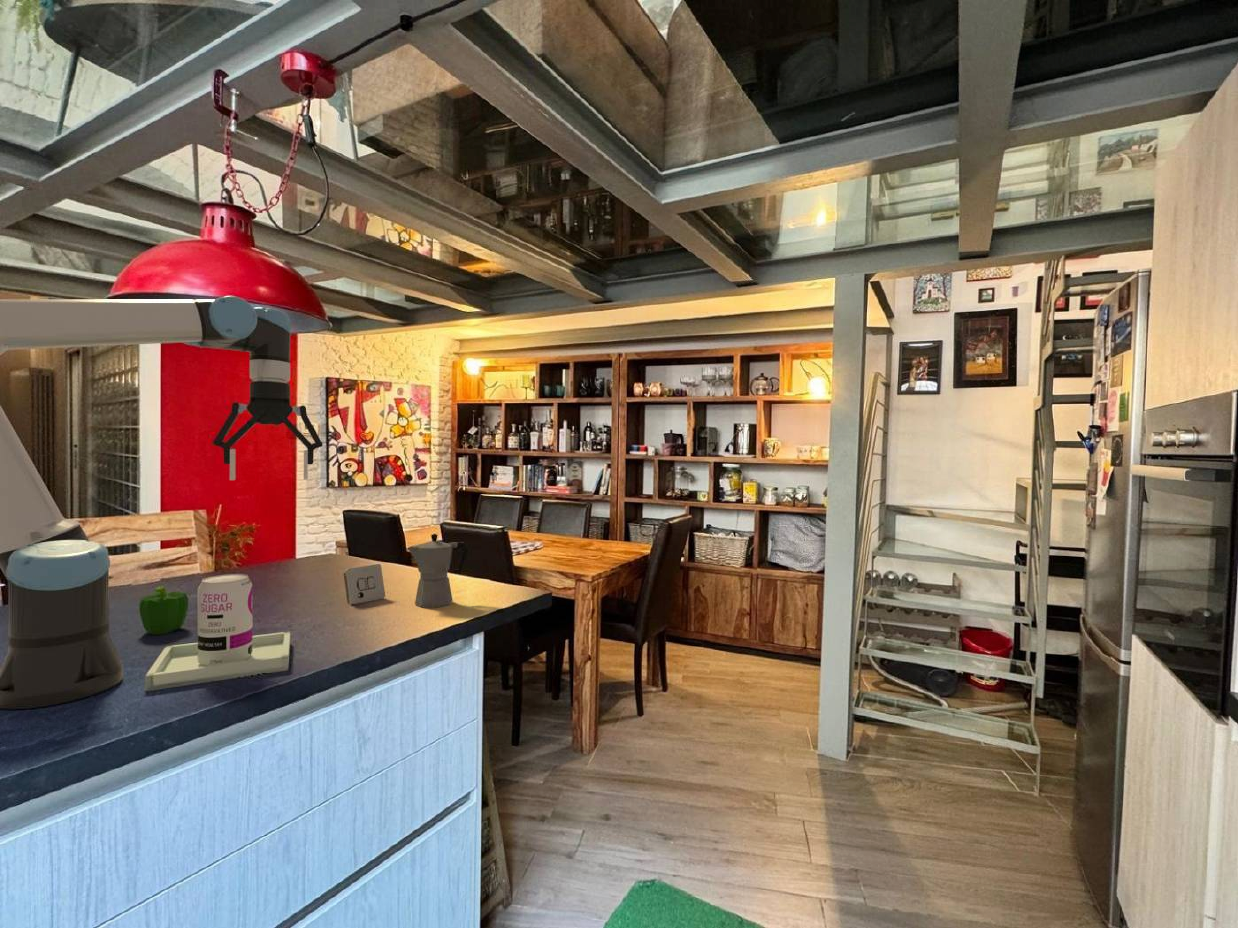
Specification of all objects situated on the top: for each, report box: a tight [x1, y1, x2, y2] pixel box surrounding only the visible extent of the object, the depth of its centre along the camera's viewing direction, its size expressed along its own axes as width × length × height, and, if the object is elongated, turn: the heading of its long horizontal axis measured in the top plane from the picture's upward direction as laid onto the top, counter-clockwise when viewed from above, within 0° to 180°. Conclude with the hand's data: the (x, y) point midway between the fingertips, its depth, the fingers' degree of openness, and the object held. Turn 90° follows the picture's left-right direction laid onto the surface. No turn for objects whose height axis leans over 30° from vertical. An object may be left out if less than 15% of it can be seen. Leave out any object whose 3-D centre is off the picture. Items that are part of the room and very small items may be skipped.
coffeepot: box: [406, 533, 470, 609], centre depth 149 cm, size 15×9×18 cm, turn 112°
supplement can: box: [197, 573, 253, 666], centre depth 104 cm, size 8×8×15 cm
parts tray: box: [144, 631, 291, 692], centre depth 104 cm, size 20×16×2 cm
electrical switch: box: [343, 563, 386, 605], centre depth 151 cm, size 9×5×9 cm, turn 141°
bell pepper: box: [138, 586, 189, 635], centre depth 123 cm, size 8×8×10 cm
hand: (270, 479), depth 125 cm, fingers open, 13 cm apart
